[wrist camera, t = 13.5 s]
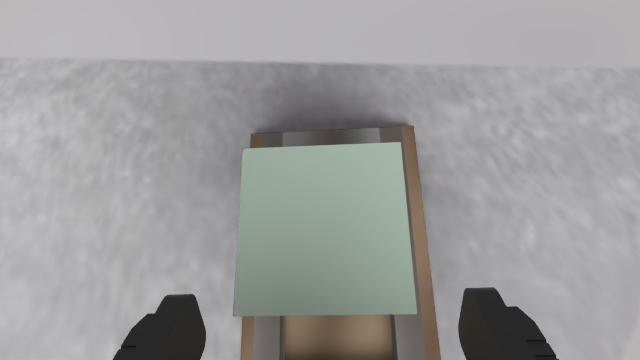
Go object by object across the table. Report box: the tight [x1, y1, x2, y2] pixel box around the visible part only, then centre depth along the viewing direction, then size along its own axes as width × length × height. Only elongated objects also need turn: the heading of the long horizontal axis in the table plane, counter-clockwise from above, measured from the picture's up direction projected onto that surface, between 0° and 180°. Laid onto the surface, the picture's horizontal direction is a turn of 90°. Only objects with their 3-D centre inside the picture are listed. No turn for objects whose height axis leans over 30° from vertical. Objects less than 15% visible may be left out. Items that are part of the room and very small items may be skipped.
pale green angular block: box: [233, 142, 417, 316], centre depth 16 cm, size 4×4×14 cm
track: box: [241, 126, 441, 360], centre depth 22 cm, size 12×19×3 cm, turn 1°
